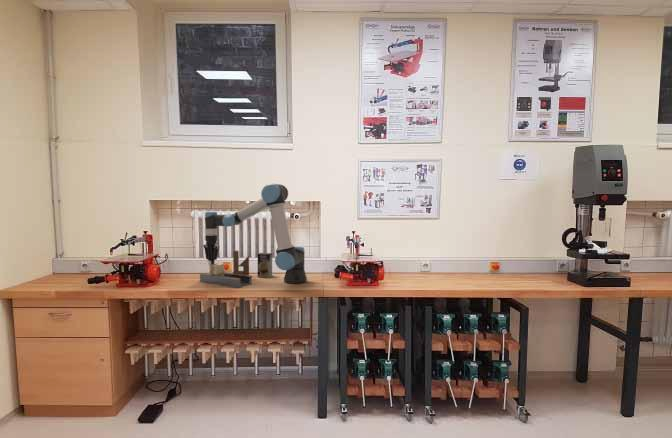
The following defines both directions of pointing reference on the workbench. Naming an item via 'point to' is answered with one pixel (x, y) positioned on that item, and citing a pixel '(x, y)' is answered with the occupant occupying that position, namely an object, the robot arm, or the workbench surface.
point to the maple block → (217, 269)
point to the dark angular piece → (236, 264)
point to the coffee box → (264, 265)
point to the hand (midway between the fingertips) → (211, 270)
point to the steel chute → (227, 279)
